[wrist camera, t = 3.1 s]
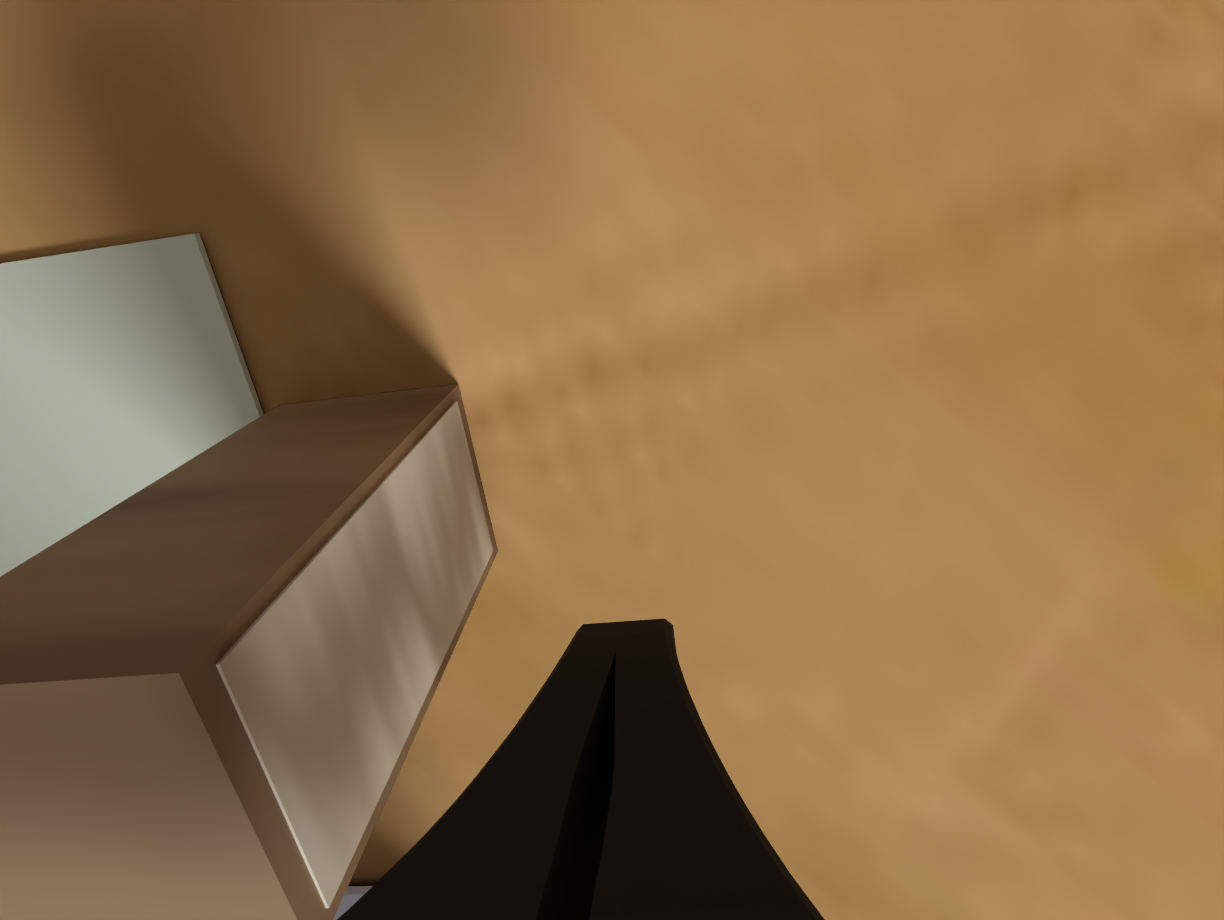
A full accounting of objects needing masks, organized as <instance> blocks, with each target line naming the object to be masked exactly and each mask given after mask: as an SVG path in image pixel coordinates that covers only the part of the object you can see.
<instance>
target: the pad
mask: <svg viewBox="0 0 1224 920" xmlns="http://www.w3.org/2000/svg"><path fill="white" fill-rule="evenodd" d="M262 415H264V414H263V411H262V408H261V405H260V403H259V400H258V397H257V394H256V391H255V388H254V386H253V383H252V380H251V377H250V374H249V372H248V369H247V366H246V363H245V360H244V358H243V355H242V352H241V349H240V346H239V343H238V341H237V338H236V335H235V332H234V329H233V327H232V324H231V321H230V318H229V315H228V312H227V310H226V307H225V304H224V301H223V298H222V296H221V293H220V290H219V287H218V284H217V282H216V279H215V276H214V273H213V270H212V267H211V265H210V262H209V259H208V256H207V253H206V251H205V248H204V245H203V242H202V239H201V237H200V234H199V233H194V234H188V235H181V236H175V237H168V238H162V239H156V240H149V241H143V242H136V243H130V244H123V245H117V246H110V247H104V248H98V249H91V250H85V251H78V252H72V253H65V254H59V255H52V256H46V257H39V258H33V259H27V260H20V261H14V262H7V263H1V264H0V577H1V576H2V575H4V574H5V573H7V572H9V571H10V570H12V569H14V568H15V567H17V566H18V565H20V564H22V563H23V562H25V561H27V560H28V559H30V558H31V557H33V556H35V555H36V554H38V553H40V552H41V551H43V550H44V549H46V548H48V547H49V546H51V545H53V544H54V543H56V542H57V541H59V540H61V539H62V538H64V537H66V536H67V535H69V534H70V533H72V532H74V531H75V530H77V529H79V528H80V527H82V526H83V525H85V524H87V523H88V522H90V521H92V520H93V519H95V518H96V517H98V516H100V515H101V514H103V513H105V512H106V511H108V510H109V509H111V508H113V507H114V506H116V505H118V504H119V503H121V502H122V501H124V500H126V499H127V498H129V497H130V496H132V495H134V494H135V493H137V492H139V491H140V490H142V489H143V488H145V487H147V486H148V485H150V484H152V483H153V482H155V481H156V480H158V479H160V478H161V477H163V476H165V475H166V474H168V473H169V472H171V471H173V470H174V469H176V468H178V467H179V466H181V465H182V464H184V463H186V462H187V461H189V460H191V459H192V458H194V457H195V456H197V455H199V454H200V453H202V452H204V451H205V450H207V449H208V448H210V447H212V446H213V445H215V444H217V443H218V442H220V441H221V440H223V439H225V438H226V437H228V436H230V435H231V434H233V433H234V432H236V431H238V430H239V429H241V428H243V427H244V426H246V425H247V424H249V423H251V422H252V421H254V420H256V419H257V418H259V417H260V416H262Z"/></svg>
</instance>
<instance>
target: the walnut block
mask: <svg viewBox="0 0 1224 920" xmlns="http://www.w3.org/2000/svg"><path fill="white" fill-rule="evenodd" d="M497 552H498V549H497V545H496V541H495V537H494V533H493V528H492V524H491V520H490V516H489V511H488V507H487V503H486V499H485V495H484V490H483V486H482V482H481V478H480V474H479V469H478V465H477V461H476V457H475V452H474V448H473V444H472V440H471V436H470V431H469V427H468V423H467V419H466V414H465V410H464V406H463V402H462V398H461V393H460V389H459V385H458V384H453V385H444V386H436V387H427V388H419V389H410V390H402V391H394V392H385V393H377V394H368V395H360V396H351V397H343V398H334V399H326V400H318V401H309V402H301V403H292V404H284V405H278V406H277V407H275V408H273V409H272V410H270V411H269V412H267V413H265V414H264V415H262V416H260V417H259V418H257V419H256V420H254V421H252V422H251V423H249V424H247V425H246V426H244V427H243V428H241V429H239V430H238V431H236V432H234V433H233V434H231V435H230V436H228V437H226V438H225V439H223V440H221V441H220V442H218V443H217V444H215V445H213V446H212V447H210V448H208V449H207V450H205V451H204V452H202V453H200V454H199V455H197V456H195V457H194V458H192V459H191V460H189V461H187V462H186V463H184V464H182V465H181V466H179V467H178V468H176V469H174V470H173V471H171V472H169V473H168V474H166V475H165V476H163V477H161V478H160V479H158V480H156V481H155V482H153V483H152V484H150V485H148V486H147V487H145V488H143V489H142V490H140V491H139V492H137V493H135V494H134V495H132V496H130V497H129V498H127V499H126V500H124V501H122V502H121V503H119V504H118V505H116V506H114V507H113V508H111V509H109V510H108V511H106V512H105V513H103V514H101V515H100V516H98V517H96V518H95V519H93V520H92V521H90V522H88V523H87V524H85V525H83V526H82V527H80V528H79V529H77V530H75V531H74V532H72V533H70V534H69V535H67V536H66V537H64V538H62V539H61V540H59V541H57V542H56V543H54V544H53V545H51V546H49V547H48V548H46V549H44V550H43V551H41V552H40V553H38V554H36V555H35V556H33V557H31V558H30V559H28V560H27V561H25V562H23V563H22V564H20V565H18V566H17V567H15V568H14V569H12V570H10V571H9V572H7V573H5V574H4V575H2V576H1V577H0V920H333V919H334V917H335V914H336V912H337V910H338V908H339V905H340V903H341V901H342V899H343V896H344V894H345V892H346V890H347V887H348V885H349V883H350V881H351V878H352V876H353V874H354V872H355V870H356V867H357V865H358V863H359V861H360V858H361V856H362V854H363V852H364V849H365V847H366V845H367V843H368V840H369V838H370V836H371V834H372V831H373V829H374V827H375V825H376V823H377V820H378V818H379V816H380V814H381V811H382V809H383V807H384V805H385V802H386V800H387V798H388V796H389V793H390V791H391V789H392V787H393V785H394V782H395V780H396V778H397V776H398V773H399V771H400V769H401V767H402V764H403V762H404V760H405V758H406V755H407V753H408V751H409V749H410V746H411V744H412V742H413V740H414V738H415V735H416V733H417V731H418V729H419V726H420V724H421V722H422V720H423V717H424V715H425V713H426V711H427V708H428V706H429V704H430V702H431V699H432V697H433V695H434V693H435V691H436V688H437V686H438V684H439V682H440V679H441V677H442V675H443V673H444V670H445V668H446V666H447V664H448V661H449V659H450V657H451V655H452V653H453V650H454V648H455V646H456V644H457V641H458V639H459V637H460V635H461V632H462V630H463V628H464V626H465V623H466V621H467V619H468V617H469V614H470V612H471V610H472V608H473V606H474V603H475V601H476V599H477V597H478V594H479V592H480V590H481V588H482V585H483V583H484V581H485V579H486V576H487V574H488V572H489V570H490V568H491V565H492V563H493V561H494V559H495V556H496V554H497Z"/></svg>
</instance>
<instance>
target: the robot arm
mask: <svg viewBox="0 0 1224 920" xmlns="http://www.w3.org/2000/svg"><path fill="white" fill-rule="evenodd" d="M333 920H824V918H823V917H822V916H821V914H820V913H819V912H818V910H817V909H816V908H815V906H814V905H813V904H812V902H811V901H810V900H809V898H808V897H807V896H806V894H805V893H804V892H803V890H802V889H801V888H800V886H799V885H798V883H797V882H796V881H795V879H794V878H793V877H792V875H791V874H790V873H789V871H788V870H787V868H786V867H785V865H784V864H783V862H782V861H781V859H780V858H779V856H778V855H777V853H776V852H775V850H774V849H773V847H772V846H771V844H770V843H769V841H768V840H767V838H766V837H765V835H764V834H763V832H762V831H761V829H760V827H759V826H758V824H757V822H756V821H755V819H754V818H753V816H752V814H751V813H750V811H749V810H748V808H747V806H746V805H745V803H744V801H743V800H742V798H741V796H740V795H739V793H738V791H737V789H736V788H735V786H734V784H733V782H732V780H731V779H730V777H729V775H728V773H727V771H726V770H725V768H724V766H723V764H722V762H721V760H720V758H719V756H718V754H717V752H716V750H715V749H714V747H713V745H712V743H711V741H710V738H709V736H708V734H707V732H706V730H705V728H704V726H703V724H702V721H701V719H700V717H699V714H698V712H697V710H696V707H695V705H694V703H693V700H692V698H691V696H690V693H689V691H688V688H687V686H686V683H685V680H684V677H683V674H682V671H681V668H680V665H679V662H678V658H677V654H676V646H675V638H674V630H673V625H672V624H671V623H669V622H668V621H667V620H666V619H653V620H639V621H624V622H610V623H595V624H583V625H582V626H581V627H580V629H579V630H578V631H577V632H576V634H575V635H574V637H573V639H572V641H571V642H570V644H569V645H568V647H567V649H566V650H565V652H564V654H563V655H562V657H561V659H560V660H559V662H558V663H557V665H556V667H555V668H554V670H553V671H552V673H551V674H550V676H549V677H548V679H547V680H546V682H545V684H544V685H543V687H542V688H541V690H540V691H539V693H538V694H537V695H536V697H535V698H534V700H533V701H532V703H531V704H530V705H529V707H528V708H527V710H526V711H525V713H524V714H523V716H522V717H521V718H520V720H519V721H518V723H517V724H516V726H515V727H514V728H513V730H512V731H511V732H510V734H509V735H508V736H507V738H506V739H505V740H504V741H503V743H502V744H501V745H500V747H499V748H498V749H497V750H496V752H495V753H494V754H493V756H492V757H491V758H490V759H489V761H488V762H487V763H486V765H485V766H484V767H483V768H482V770H481V771H480V772H479V774H478V775H477V776H476V777H475V778H474V780H473V781H472V782H471V783H470V784H469V786H468V787H467V788H466V789H465V790H464V792H463V793H462V794H461V795H460V796H459V797H458V799H457V800H456V801H455V802H454V803H453V804H452V805H451V807H450V808H449V809H448V810H447V811H446V812H445V813H444V814H443V815H442V817H441V818H440V819H439V820H438V821H437V822H436V823H435V824H434V825H433V826H432V827H431V829H430V830H429V831H428V832H427V833H426V834H425V835H424V836H423V837H422V838H421V839H420V840H419V841H418V842H417V843H416V844H415V845H414V846H413V847H412V848H411V849H410V850H409V851H408V852H407V853H406V854H405V855H404V856H403V857H402V858H401V859H400V860H399V861H398V862H397V863H396V864H395V865H394V866H393V867H392V868H391V869H390V870H389V871H388V872H387V873H386V874H385V875H384V876H383V877H382V878H381V879H380V880H379V881H378V882H377V883H376V884H375V885H374V886H348V887H347V890H346V892H345V894H344V896H343V899H342V901H341V903H340V905H339V908H338V910H337V912H336V914H335V917H334V919H333Z"/></svg>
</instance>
